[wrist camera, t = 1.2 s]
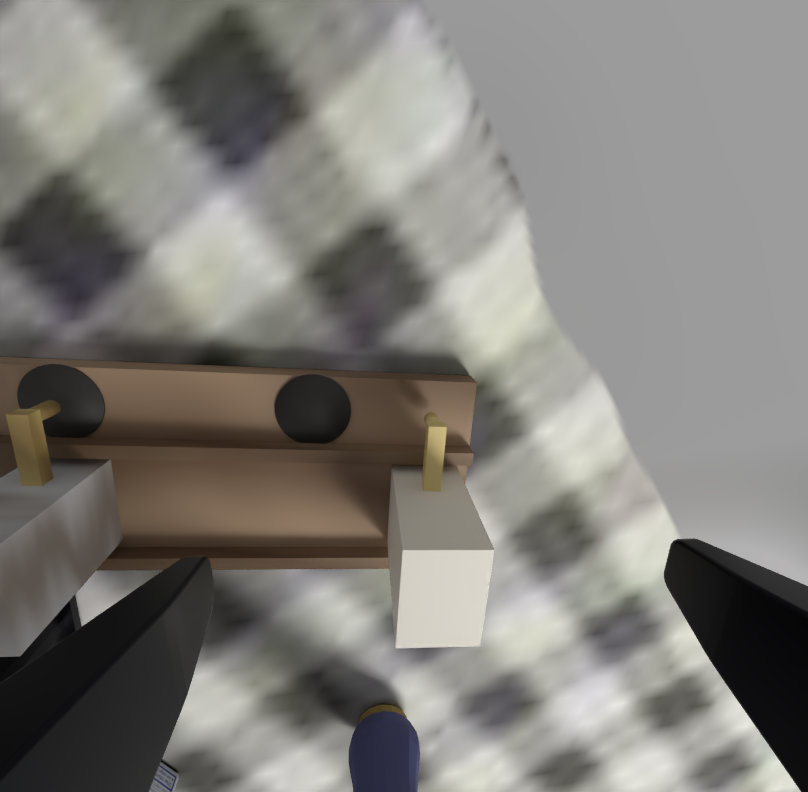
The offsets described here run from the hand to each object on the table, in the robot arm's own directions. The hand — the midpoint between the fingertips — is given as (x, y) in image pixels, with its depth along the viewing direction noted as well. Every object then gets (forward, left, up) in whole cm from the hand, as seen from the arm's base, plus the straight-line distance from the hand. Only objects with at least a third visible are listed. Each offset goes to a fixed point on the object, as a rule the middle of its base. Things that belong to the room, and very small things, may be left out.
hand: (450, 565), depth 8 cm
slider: (-4, -1, -11) cm, 11 cm away
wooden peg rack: (-4, +7, -12) cm, 14 cm away
